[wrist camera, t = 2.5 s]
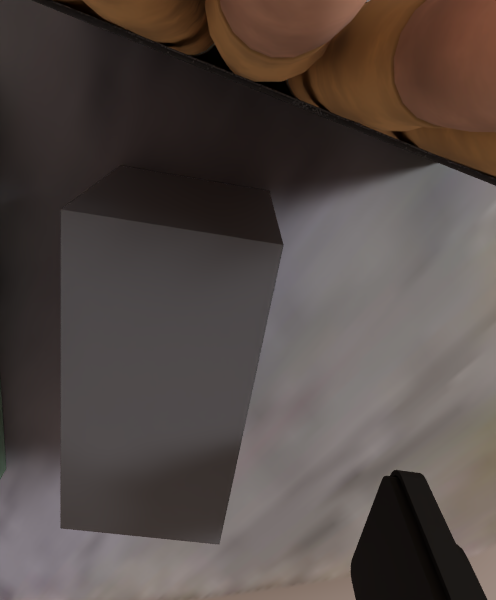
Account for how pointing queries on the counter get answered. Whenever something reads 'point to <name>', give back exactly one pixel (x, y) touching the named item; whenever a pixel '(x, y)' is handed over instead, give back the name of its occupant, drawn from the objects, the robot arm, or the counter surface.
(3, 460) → the header board
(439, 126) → the ammunition clip
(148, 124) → the counter surface
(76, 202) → the block
